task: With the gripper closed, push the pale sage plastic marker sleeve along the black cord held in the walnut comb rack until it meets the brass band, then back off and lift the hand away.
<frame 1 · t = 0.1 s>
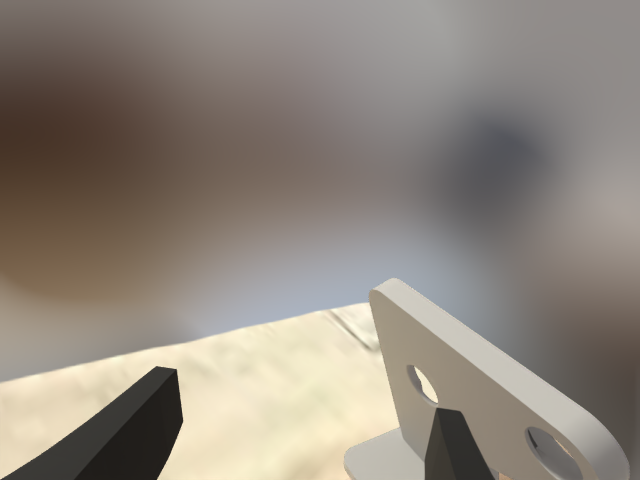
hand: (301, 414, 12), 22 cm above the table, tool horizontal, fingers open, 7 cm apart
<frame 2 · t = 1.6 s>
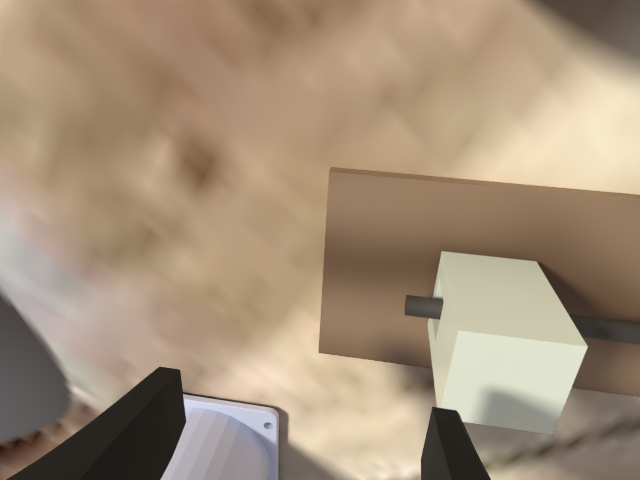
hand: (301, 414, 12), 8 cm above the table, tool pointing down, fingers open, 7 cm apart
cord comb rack: (560, 291, 19), on the table
marker sleeve: (491, 333, 16), point 4 cm above the table, slide at 3.5 cm
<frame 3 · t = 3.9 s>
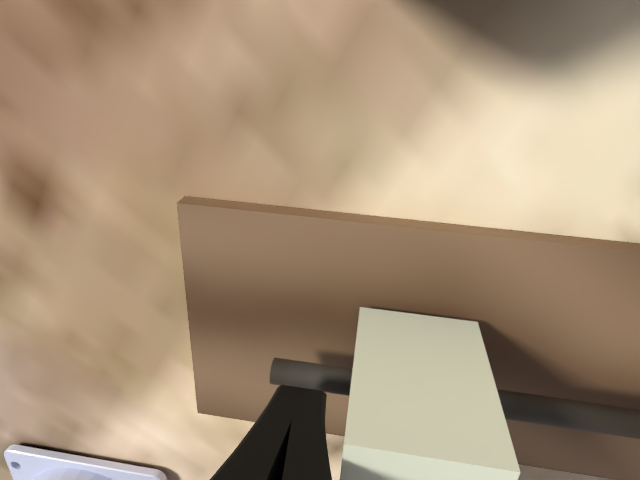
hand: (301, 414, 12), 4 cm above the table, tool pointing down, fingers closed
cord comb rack: (475, 348, 15), on the table
marker sleeve: (412, 421, 12), point 4 cm above the table, slide at 2.2 cm, touching gripper
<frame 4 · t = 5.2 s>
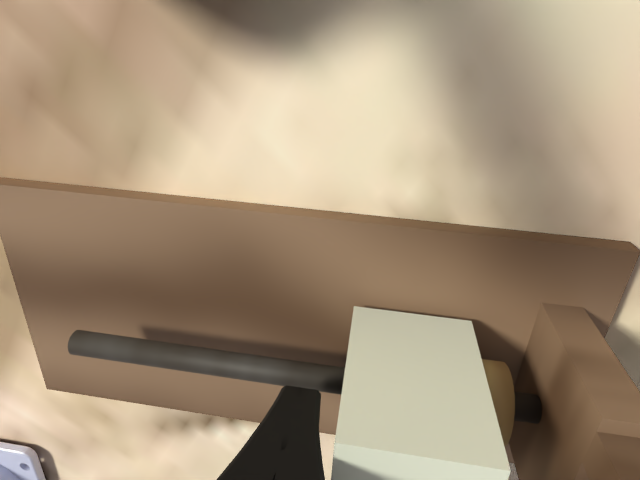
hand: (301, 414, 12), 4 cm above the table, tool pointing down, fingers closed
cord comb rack: (287, 323, 16), on the table
marker sleeve: (406, 420, 12), point 4 cm above the table, slide at -4.1 cm, touching gripper
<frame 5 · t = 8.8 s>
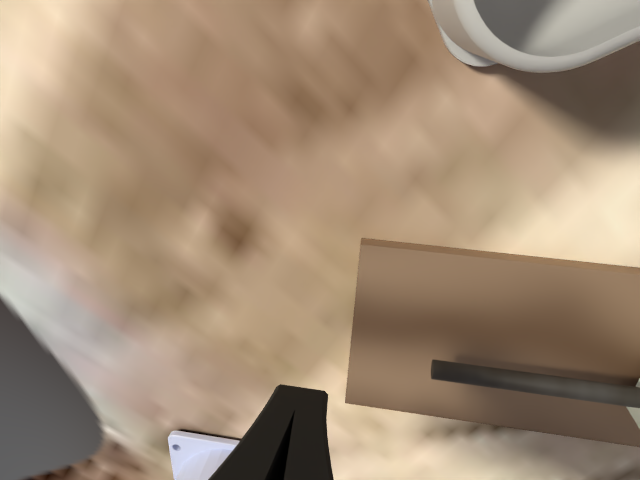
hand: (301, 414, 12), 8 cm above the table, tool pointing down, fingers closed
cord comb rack: (576, 352, 20), on the table
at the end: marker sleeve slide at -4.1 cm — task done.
